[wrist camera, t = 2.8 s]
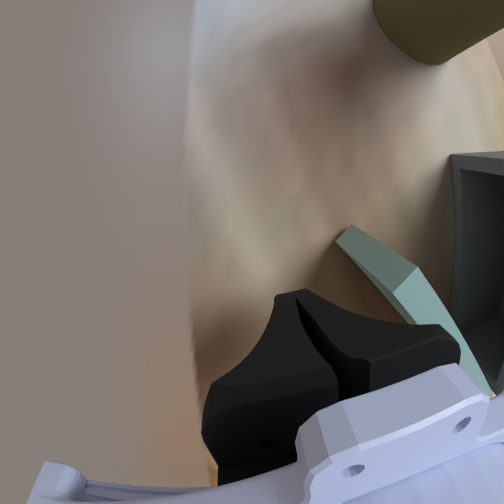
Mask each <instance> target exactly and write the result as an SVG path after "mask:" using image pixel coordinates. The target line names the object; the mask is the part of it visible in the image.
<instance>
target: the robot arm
mask: <svg viewBox="0 0 504 504" xmlns="http://www.w3.org/2000/svg"><path fill="white" fill-rule="evenodd" d="M460 357H461V349H460V345H459V343H458V342H457V341H456V339H455V338H454V337H453V336H452V335H451V334H450V333H449V332H447V331H446V330H445V329H444V328H443V327H442V326H441V325H440V324H417V325H414V324H399V323H391V322H385V321H380V320H375V319H371V318H367V317H364V316H361V315H357V314H354V313H352V312H349V311H347V310H345V309H342V308H340V307H338V306H336V305H334V304H332V303H330V302H328V301H326V300H325V299H323V298H321V297H320V296H318V295H316V294H315V293H313V292H311V291H310V290H308V289H302V290H298V291H293V292H289V293H284V294H279V295H276V296H275V298H274V307H273V311H272V314H271V317H270V320H269V322H268V324H267V327H266V329H265V331H264V333H263V335H262V336H261V338H260V340H259V341H258V343H257V344H256V346H255V347H254V348H253V350H252V351H251V352H250V353H249V355H248V356H247V357H246V358H245V359H244V360H243V361H242V362H241V363H239V364H238V365H237V366H236V367H235V368H234V369H232V370H231V371H230V372H228V373H227V374H225V375H224V376H222V377H221V378H219V379H218V380H216V381H214V382H213V383H212V384H211V386H210V388H209V391H208V395H207V398H206V402H205V405H204V410H203V417H202V430H201V434H202V437H203V440H204V443H205V444H206V446H207V448H208V450H209V451H210V453H211V455H212V457H213V458H214V460H215V462H216V463H217V465H218V486H217V487H199V488H198V487H197V488H165V487H143V486H131V485H121V484H111V483H105V482H98V481H91V480H87V479H86V478H85V477H84V476H83V474H82V473H81V472H80V471H78V470H77V469H76V468H74V467H72V466H70V465H66V464H61V463H56V462H52V461H45V463H44V465H43V467H42V469H41V471H40V473H39V476H38V478H37V480H36V482H35V485H34V487H33V489H32V492H31V494H30V496H29V499H28V502H27V504H504V391H503V392H501V393H500V394H498V395H497V396H495V397H493V398H490V397H489V396H488V395H487V394H486V393H485V392H484V390H483V389H482V388H481V387H480V386H479V385H478V384H477V383H476V381H475V380H474V379H473V378H472V377H471V376H470V375H469V374H468V373H467V371H466V370H465V369H463V368H462V367H461V366H459V363H460Z"/></svg>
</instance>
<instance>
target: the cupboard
mask: <svg viewBox="0 0 504 504" xmlns="http://www.w3.org/2000/svg"><path fill="white" fill-rule="evenodd" d="M450 156H451V165H452V176H453V190H454V212H455V248H454V270H453V284H452V295H451V305H450V313H449V314H450V316H451V318H452V319H453V321H454V323H455V324H456V326H457V328H458V329H459V331H460V333H461V334H462V336H463V338H464V340H465V341H466V343H467V345H468V347H469V348H470V350H471V352H472V354H473V356H474V357H475V359H476V361H477V363H478V365H479V367H480V369H481V371H482V373H483V375H484V377H485V379H486V381H487V383H488V385H489V387H490V389H491V390H492V391H493V392H494V393H495V394H496V396H497V395H498V394H500V393H501V392H503V391H504V151H499V152H478V153H462V154H450Z"/></svg>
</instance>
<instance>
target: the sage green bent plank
mask: <svg viewBox="0 0 504 504" xmlns="http://www.w3.org/2000/svg"><path fill="white" fill-rule="evenodd" d="M335 242H336V243H337V244H338V245H339V246H340V247H341V248H342V249H343V250H344V251H345V252H346V253H347V255H348V256H349V257H350V258H351V259H352V260H353V261H354V262H355V263H356V264H357V265H358V267H359V268H360V269H361V270H362V271H363V272H364V273H365V274H366V275H367V277H368V278H369V279H370V280H371V281H372V282H373V283H374V284H375V286H376V287H377V288H378V289H379V290H380V291H381V292H382V294H383V295H384V296H385V297H386V298H387V299H388V300H389V302H390V303H391V304H392V305H393V306H394V307H395V309H396V310H397V311H398V312H399V313H400V314H401V316H402V317H403V318H404V319H405V320H406V322H407V323H408V324H414V325H417V324H440V325H441V326H442V327H443V328H444V329H445V330H446V331H447V332H449V333H450V334H451V335H452V336H453V337H454V338H455V339H456V341H457V342H458V343H459V345H460V349H461V357H460V363H459V366H461V367H462V368H463V369H465V370H466V371H467V373H468V374H469V375H470V376H471V377H472V378H473V379H474V380H475V381H476V383H477V384H478V385H479V386H480V387H481V388H482V389H483V390H484V392H485V393H486V394H487V395H488V396H489V397H491V396H492V395H493V393H492V391H491V389H490V387H489V385H488V383H487V381H486V379H485V377H484V375H483V373H482V371H481V369H480V367H479V365H478V363H477V361H476V359H475V357H474V356H473V354H472V352H471V350H470V348H469V347H468V345H467V343H466V341H465V340H464V338H463V336H462V334H461V333H460V331H459V329H458V328H457V326H456V324H455V323H454V321H453V319H452V318H451V316H450V314H449V313H448V311H447V310H446V308H445V306H444V305H443V303H442V302H441V300H440V299H439V297H438V296H437V294H436V293H435V291H434V290H433V288H432V287H431V285H430V284H429V282H428V281H427V279H426V278H425V276H424V275H423V273H422V272H421V271H420V269H419V268H418V266H416V265H415V264H413V263H412V262H410V261H409V260H407V259H406V258H404V257H403V256H401V255H400V254H398V253H396V252H395V251H393V250H392V249H390V248H389V247H387V246H386V245H384V244H382V243H381V242H379V241H378V240H376V239H375V238H373V237H371V236H370V235H368V234H367V233H365V232H363V231H362V230H360V229H358V228H357V227H355V226H353V225H352V224H351V225H350V226H349V228H348V229H347V230H346V231H345V232H344V233H343V234H342V235H341V236H340V237H339V238H338V239H337V240H336V241H335Z"/></svg>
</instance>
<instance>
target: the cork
mask: <svg viewBox="0 0 504 504" xmlns="http://www.w3.org/2000/svg"><path fill="white" fill-rule="evenodd" d="M373 5H374V12H375V15H376V17H377V19H378V21H379V24H380V26H381V28H382V29H383V30H384V32H385V33H386V34H387V36H388V37H389V38H390V40H391V41H392V42H393V43H394V44H396V45H397V46H398V47H399V48H400V49H401V50H402V51H403V52H404V53H406V54H408V55H409V56H411V57H412V58H414V59H416V60H418V61H421V62H424V63H427V64H442V63H444V62H446V61H448V60H450V59H451V58H453V57H455V56H456V55H458V54H459V53H461V52H463V51H464V50H466V49H468V48H470V47H471V46H473V45H475V44H476V43H478V42H480V41H481V40H483V39H485V38H487V37H488V36H490V35H492V34H494V33H495V32H497V31H499V30H501V29H502V28H504V0H373Z"/></svg>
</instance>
